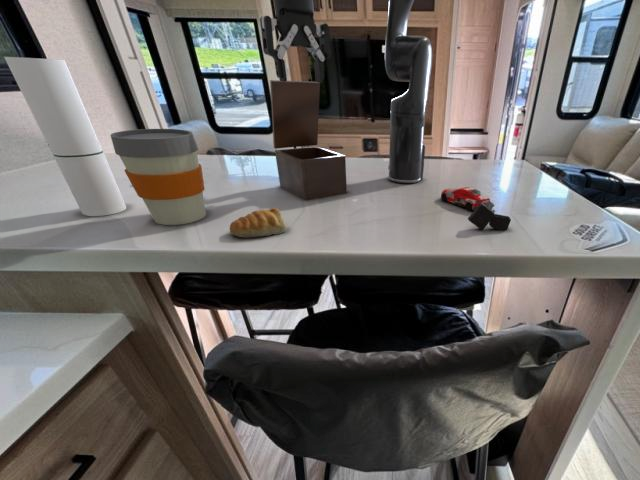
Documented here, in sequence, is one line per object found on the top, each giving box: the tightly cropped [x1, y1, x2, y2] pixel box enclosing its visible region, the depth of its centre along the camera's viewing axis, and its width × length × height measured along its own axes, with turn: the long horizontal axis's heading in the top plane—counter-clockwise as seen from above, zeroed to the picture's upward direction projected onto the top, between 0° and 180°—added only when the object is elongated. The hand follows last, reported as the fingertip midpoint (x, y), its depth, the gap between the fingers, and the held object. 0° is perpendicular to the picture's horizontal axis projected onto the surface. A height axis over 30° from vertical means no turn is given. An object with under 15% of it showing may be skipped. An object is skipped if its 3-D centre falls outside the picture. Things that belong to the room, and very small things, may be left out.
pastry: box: [229, 207, 287, 239], centre depth 61 cm, size 9×7×4 cm
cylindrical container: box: [3, 56, 127, 217], centre depth 61 cm, size 7×7×25 cm
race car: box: [440, 186, 491, 212], centre depth 80 cm, size 13×5×4 cm, turn 39°
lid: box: [269, 79, 321, 150], centre depth 81 cm, size 14×12×5 cm
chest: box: [274, 145, 348, 201], centre depth 83 cm, size 14×12×9 cm
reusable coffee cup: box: [110, 128, 207, 226], centre depth 62 cm, size 13×13×15 cm
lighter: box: [467, 201, 512, 231], centre depth 68 cm, size 8×2×5 cm
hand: (302, 81), depth 73 cm, fingers open, 8 cm apart
